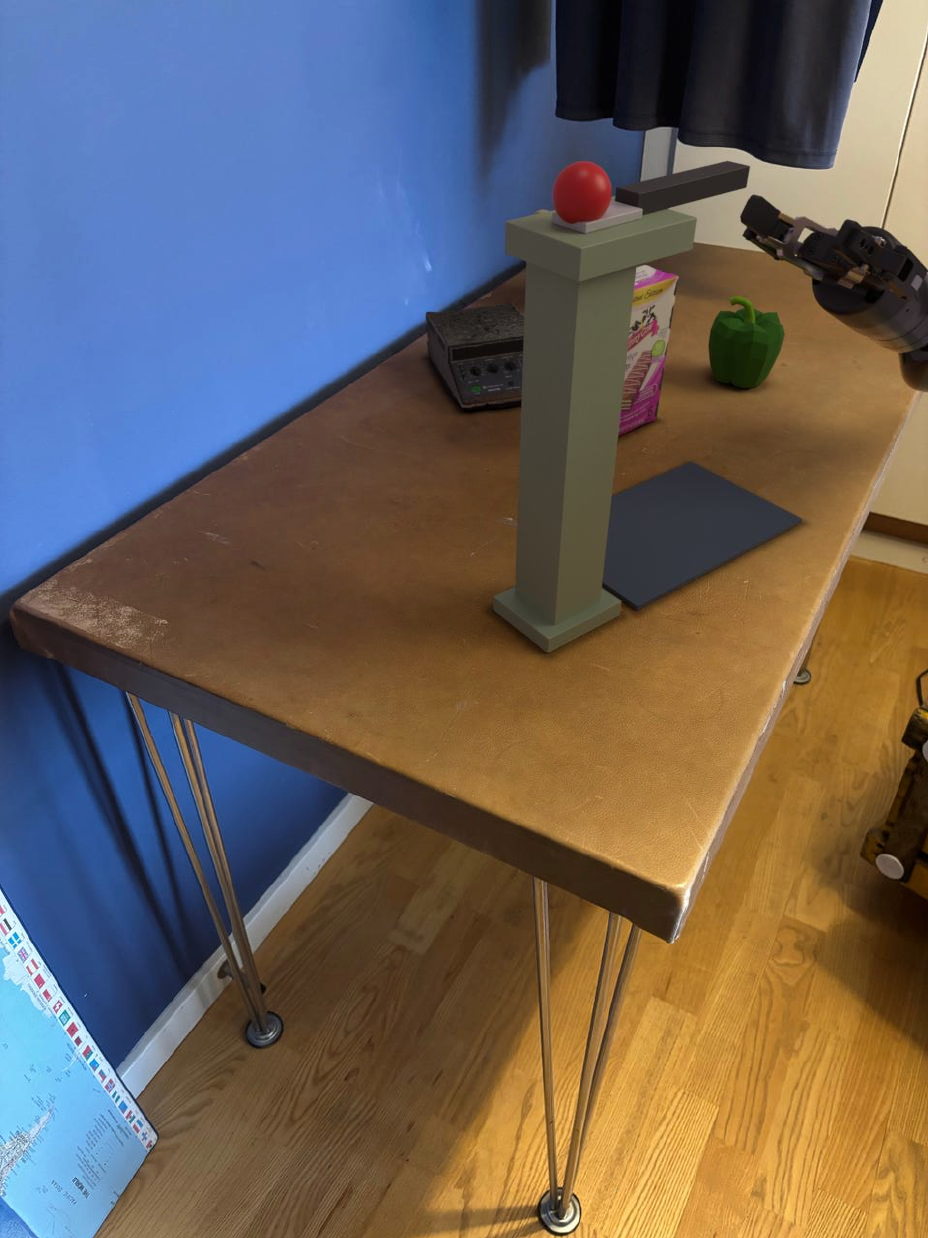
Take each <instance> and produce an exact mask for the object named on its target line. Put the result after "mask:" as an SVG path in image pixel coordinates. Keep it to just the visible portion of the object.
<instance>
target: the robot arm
mask: <svg viewBox="0 0 928 1238" xmlns="http://www.w3.org/2000/svg"><path fill="white" fill-rule="evenodd" d="M739 218H740V223H741V224H742V225H744V226H745V227H746V228H745V230H744V231H743V233H742V237H743V238H745V239H744V240H746V241H748V242H750V243H751V244H753V245H755V246H756V247H757V248H759V249H760V250H762V251H763V252H765V253H766V254H767V255H769V256H770V257H772V258H773V260H775V261H777V262H778V261H781V262H783V261H784V262H786V263H788V264H791V265H792V266H794V267H796V268H798V269H801V270H802V272H803V274H804V275H806V276H808V277H809V278H811V287H812V294H813V296H814V299H815V301H816V302H817V304H818V306H820V307H821V309H822V310H824V311H825V312H826V313H828V314H829V315H831V316H832V317H834V318H835V319H837V320H838V321H839V322H840V323H842V324H844V325H845V326H847V328H849V329H850V330H852V331H854V332H855V333H857V334H859V335H861V336H865V337H867V338H868V339H870V340H871V341H873V343H875V344H876V345H879V346H880V347H881V348H883V349H885V350H888V351H890V352H893V353H897V356H898V364H899V370H900V374H901V378H902V380H903V382H904V383H905V384H906V386H908V387H909V388H910V389H912V390H915V391H917V392H921V393H928V268H927V267H926V266H925V265H924V264H923V263H922V261H921V260H920V259H919V258H918V257H917V256H916V255H915V254H914V252H913V251H912V250H911V249H910V248H908V246H906V245H904V244H903V243H901V242H900V240H898V239H897V238H896V237H895V236H894V235H893V234H892V233H891V232H889V231H888V230H886V229H884V228H882V227H879V226H874V225H873V226H872V225H865V226H862V225H861V224H860V223H859V222H858V221H857V220H852V219H849V218H847V219H845V220H844V221H843V223H842V224H841V226H840V228H839V229H838V228H836V227H826V226H825V225H823V224H821V223H819V222H817V221H815V220H813V219H811V218H809V217H807V216H796V217H792V216H789V215H788V214H786V213H784V212H782V211H781V209H778V207H776V206H775V205H773V204H772V203H770V201H768V200H767V199H766V198H765V197H763V196H762V195H758V194H752V195H750V197H749V198H748V199H747V201H746V202H745V205H744V207H743V209H742V212H741V213H740V215H739ZM804 229H807V230H809V231H811V233H810V234H809V235H808V236H807V237H806V238H805V239H803V240H802V242H801V241H800V240H799V239H800V238H801V235H802V233H803V232H804Z"/></svg>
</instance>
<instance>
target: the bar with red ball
mask: <svg viewBox="0 0 928 1238" xmlns="http://www.w3.org/2000/svg"><path fill="white" fill-rule="evenodd" d="M750 169H751V165H747V164H744V163H739V162H735V161H729V160H725V161H721V162H717V163H713V164H707V165H703V166H699V167H696V168H695V167H694V168H691V169H687V170H684V171H683V170H682V171H679V172H675V173H671V174H670V173H669V174H666V175H662V176H658V177H654V178H650V179H649V178H648V179H645V180H642V181H641V180H640V181H637V182H633V183H629V184H624V185H620V186H616V187H615V195H614V196H615V201H613V200H611V197H612V196H613V195H612V194H613V192H612V191H613V190H612V188H613V187H612V184H611V180H610V177H609V176H608V174H607V173H606V171H605V170H604V169H603V167H601V166H600V165H598V164H596V163H595V162H592V161H588V160H587V161H586V160H579V161H575V162H572V163H571V164H568V165H567V166H565V167H564V168H563V169H562V170H561V171H560V172H559V173H558V174H557V177H556V179H555V180H554V183H553V186H552V188H551V189H552V191H551V200H552V206H553V208H554V209H553V210H555V211H556V212H555V213H552V223H554V224H557V225H560V226H563V227H566V228H569V229H572V230H575V231H578V232H582V233H585V234H586V233H589V232H593V231H597V230H601V229H604V228H608V227H612V226H616V225H619V224H623V223H627V222H631V221H634V220H638V219H641V218H642V215H645V214H649V213H652V212H656V211H660V210H664V209H671V208H674V207H679V206H682V205H686V204H689V203H690V204H691V203H693V202H697V201H702V200H705V199H708V198H712V197H716V196H721V195H725V194H728V193H732V192H735V191H739V190H743V189H746V188H747V186H748V181H749V176H750V171H751V170H750Z"/></svg>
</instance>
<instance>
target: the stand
mask: <svg viewBox="0 0 928 1238" xmlns="http://www.w3.org/2000/svg"><path fill="white" fill-rule="evenodd" d="M611 200H613V201H615V195H612V196H611ZM547 211H548V212H543V213H539V214H535V215H533V214H531V215H527V216H523V217H517V218H513V219H509V220H506V221H505V225H504V254H505V255H509V256H511V257H513V258H515V259H518V260H521V261H524V262H525V264H526V265H525V286H524V287H525V289H524V291H525V292H524V315H523V316H524V345H523V374H522V403H521V404H520V405H521V406H520V407H521V408H520V409H521V410H520V436H519V439H520V440H519V462H518V463H519V465H518V495H517V523H516V524H517V525H516V551H515V552H516V555H515V581H514V584H515V585H514V586H512V587H510V588H507V589H506V590H504V591H502V592H499V593H497V594H495V595H493V598H492V607H493V608H492V610H493V612H495V613H496V614H497V615H498V616H500V617H501V618H502V619H503V620H505V621H506V622H508V623H509V624H510V625H511V626H512V627H513V628H515V629H516V630H517V631H518V632H520V633H521V634H523V635H524V636H525V637H526V638H527V639H529V640H530V641H531V642H533V644H535V645H536V646H538V647H539V648H540V649H541V650H542V651H544V652H545V653H547V654H549V653H551V652H553V651H555V650H557V649H559V648H560V647H563V646H564V645H566V644H568V643H570V642H572V641H574V640H576V639H578V638H579V637H580V638H581V636H584V635H585V634H587V633H589V632H590V631H591V632H592V631H593V630H595V629H597V628H599V627H600V626H602V625H604V624H606V623H608V622H610V621H612V620H613V619H615V618H618V617H619V616H621V610H622V602H623V601H622V600H621V599H619V598H618V597H616V596H615V595H614V594H612V593H611V592H609V591H608V590H606V589H605V588H603V587H602V580H603V571H604V561H605V552H606V543H607V534H608V525H609V515H610V506H611V497H612V496H613V488H614V478H615V477H614V476H615V468H616V461H617V460H616V458H617V451H618V449H617V448H618V442H619V441H618V439H619V436H618V433H619V424H620V414H621V405H622V396H623V387H624V378H625V368H626V359H627V350H628V341H629V332H630V322H631V313H632V304H633V295H634V286H635V276H636V267H638V266H641V265H645V264H648V263H651V262H655V261H658V260H661V259H665V258H668V257H671V256H675V255H679V254H682V253H685V252H689V251H693V248H694V242H695V235H696V227H697V223H698V222H697V221H698V218H697V217H696V216H693V215H690V214H686V213H683V212H679V211H676V210H672V209H670V208H668V209H664V210H660V211H656V212H652V213H649V214H645V215H642V218H641V219H638V220H634V221H631V222H627V223H623V224H619V225H616V226H612V227H608V228H604V229H601V230H597V231H593V232H589V233H586V234H585V233H582V232H578V231H575V230H572V229H569V228H566V227H563V226H560V225H557V224H554V223H552V213H555V212H556V211H555V209H553V210H547Z"/></svg>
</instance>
